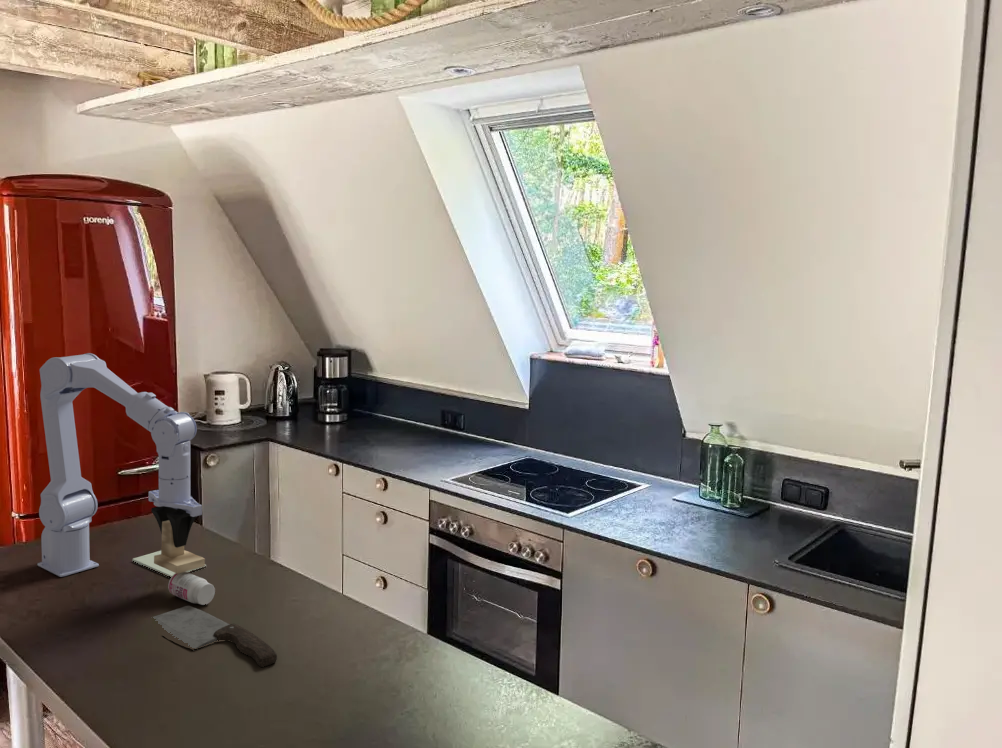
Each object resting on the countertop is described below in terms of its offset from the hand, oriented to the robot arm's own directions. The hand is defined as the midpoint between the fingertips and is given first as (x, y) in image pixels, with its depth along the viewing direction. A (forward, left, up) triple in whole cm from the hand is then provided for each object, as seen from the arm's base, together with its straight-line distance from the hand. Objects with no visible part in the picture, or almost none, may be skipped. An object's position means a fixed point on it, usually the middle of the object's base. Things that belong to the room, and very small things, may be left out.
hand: (174, 543), depth 160 cm
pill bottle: (+3, -2, -6) cm, 7 cm away
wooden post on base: (+2, 0, -4) cm, 4 cm away
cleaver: (+24, -9, -10) cm, 27 cm away
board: (-11, +6, -9) cm, 15 cm away
